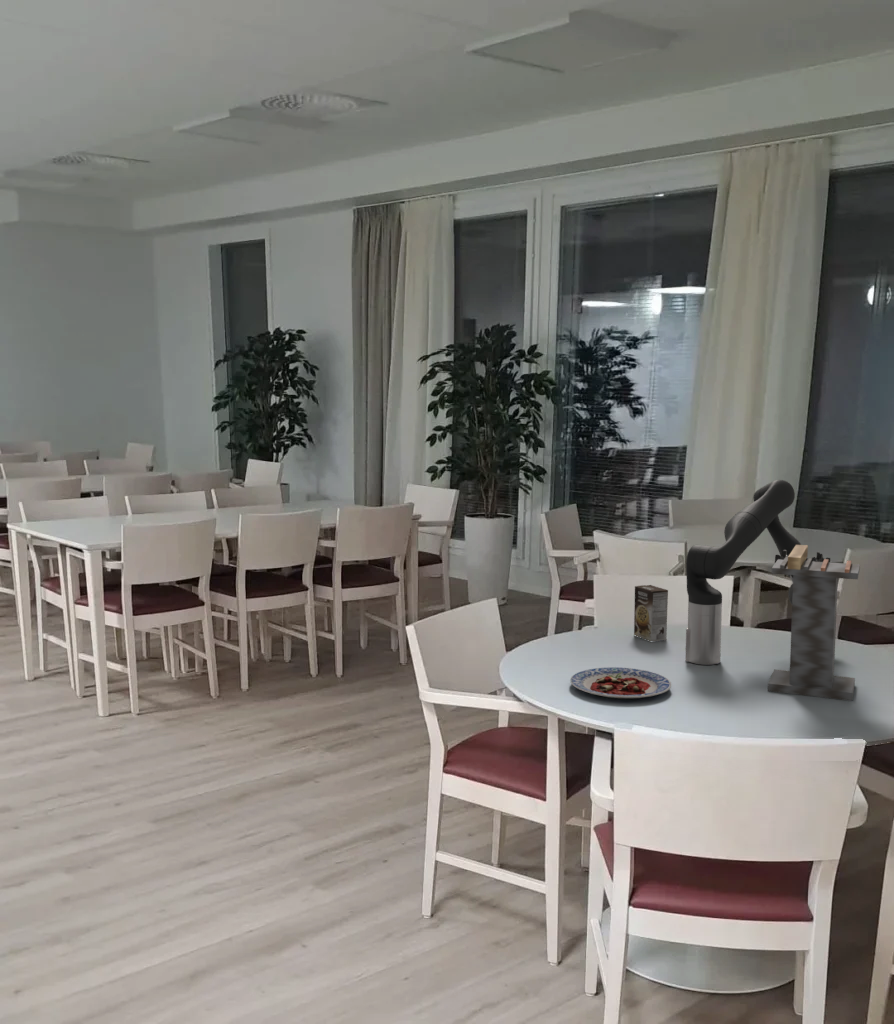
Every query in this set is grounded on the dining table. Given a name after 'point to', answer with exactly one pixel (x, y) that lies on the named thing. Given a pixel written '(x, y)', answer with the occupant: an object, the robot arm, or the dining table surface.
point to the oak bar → (797, 557)
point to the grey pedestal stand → (814, 631)
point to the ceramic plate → (620, 682)
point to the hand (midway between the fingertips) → (801, 554)
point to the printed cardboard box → (650, 612)
